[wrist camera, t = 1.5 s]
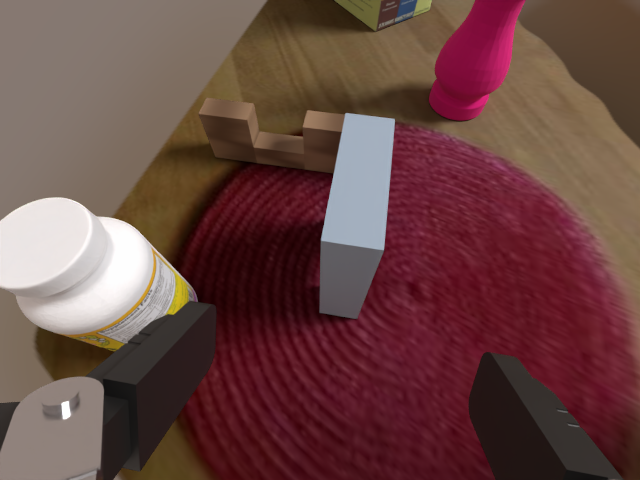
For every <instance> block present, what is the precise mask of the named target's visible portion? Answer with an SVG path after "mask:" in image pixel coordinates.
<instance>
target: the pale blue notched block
mask: <svg viewBox="0 0 640 480" xmlns="http://www.w3.org/2000/svg"><path fill="white" fill-rule="evenodd" d="M394 125H395V119H391V118H382V117H374V116H366V115H358V114H350V113H345V119H344V124H343V129H342V134H341V139H340V144H339V150H338V155H337V160H336V165H335V170H334V175H333V180H332V186H331V191H330V196H329V201H328V206H327V211H326V217H325V222H324V227H323V232H322V237H321V258H320V312H319V313H324V314H330V315H336V316H341V317H347V318H353V319H357V317H358V315H359V312H360V310H361V307H362V304H363V302H364V299H365V297H366V294H367V292H368V289H369V287H370V284H371V282H372V279H373V277H374V274H375V272H376V269H377V266H378V264H379V261H380V259H381V256H382V254H383V251H384V243H385V231H386V219H387V208H388V196H389V184H390V172H391V160H392V149H393V137H394Z"/></svg>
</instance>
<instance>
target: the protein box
mask: <svg viewBox="0 0 640 480" xmlns="http://www.w3.org/2000/svg"><path fill="white" fill-rule="evenodd" d="M334 1H335V2H337V3H338V4H339V5H341V6H342V7H343V8H345V9H346V10H347V11H349V12H350V13H351V14H353V15H354V16H355V17H357V18H358V19H359V20H361V21H362V22H363V23H365V24H366V25H367V26H369V27H370V28H371V29H373V30H374V31H379V30H381V29H383V28H386V27H388V26H391V25H393V24H396V23H399V22H401V21H404V20H406V19H409V18H411V17H414V16H417V15H419V14H422V13H424V12H427V11H429V9H430V5H431V1H432V0H334Z"/></svg>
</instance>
